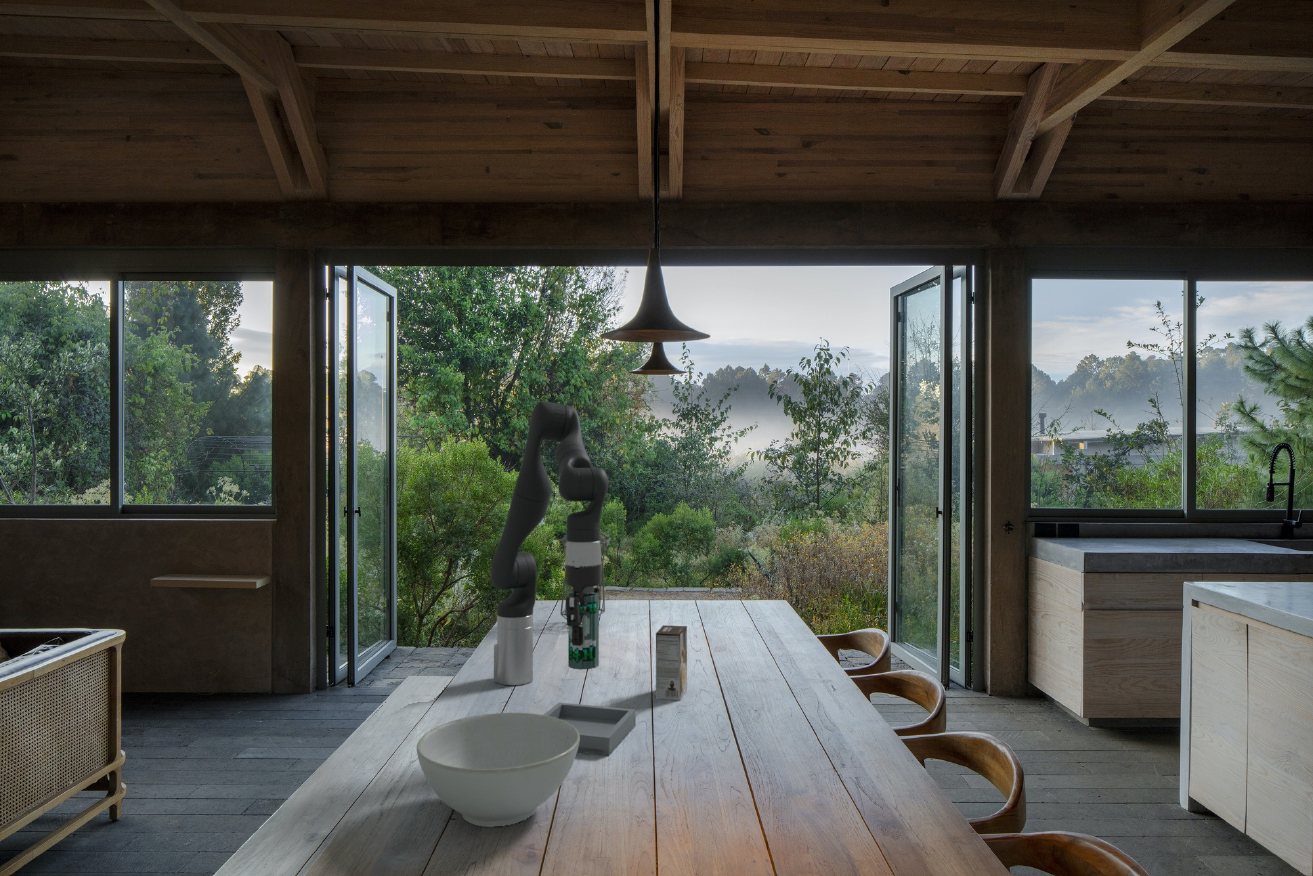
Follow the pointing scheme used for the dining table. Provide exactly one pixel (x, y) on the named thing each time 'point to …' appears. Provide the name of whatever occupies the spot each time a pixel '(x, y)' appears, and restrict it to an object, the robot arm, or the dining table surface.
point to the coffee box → (671, 662)
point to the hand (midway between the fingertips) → (583, 641)
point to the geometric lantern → (601, 571)
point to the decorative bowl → (498, 764)
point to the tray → (596, 725)
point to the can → (586, 637)
